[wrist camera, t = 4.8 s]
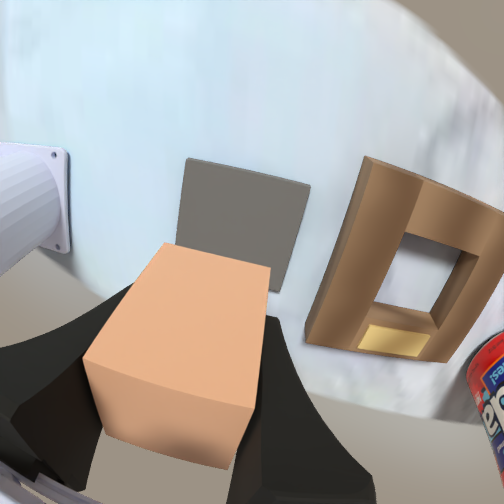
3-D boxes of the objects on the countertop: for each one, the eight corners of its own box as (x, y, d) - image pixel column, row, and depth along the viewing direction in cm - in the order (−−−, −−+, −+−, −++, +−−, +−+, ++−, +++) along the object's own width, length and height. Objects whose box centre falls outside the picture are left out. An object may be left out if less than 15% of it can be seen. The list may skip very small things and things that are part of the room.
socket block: (304, 323, 22) (305, 344, 20) (364, 155, 16) (374, 163, 14) (439, 346, 22) (447, 365, 20) (509, 215, 16) (526, 228, 14)
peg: (160, 322, 13) (106, 434, 8) (164, 242, 11) (82, 358, 6) (248, 344, 13) (227, 470, 8) (270, 267, 11) (254, 408, 6)
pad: (175, 262, 20) (173, 266, 20) (188, 157, 17) (185, 159, 17) (279, 287, 20) (279, 291, 20) (310, 185, 17) (310, 187, 17)
